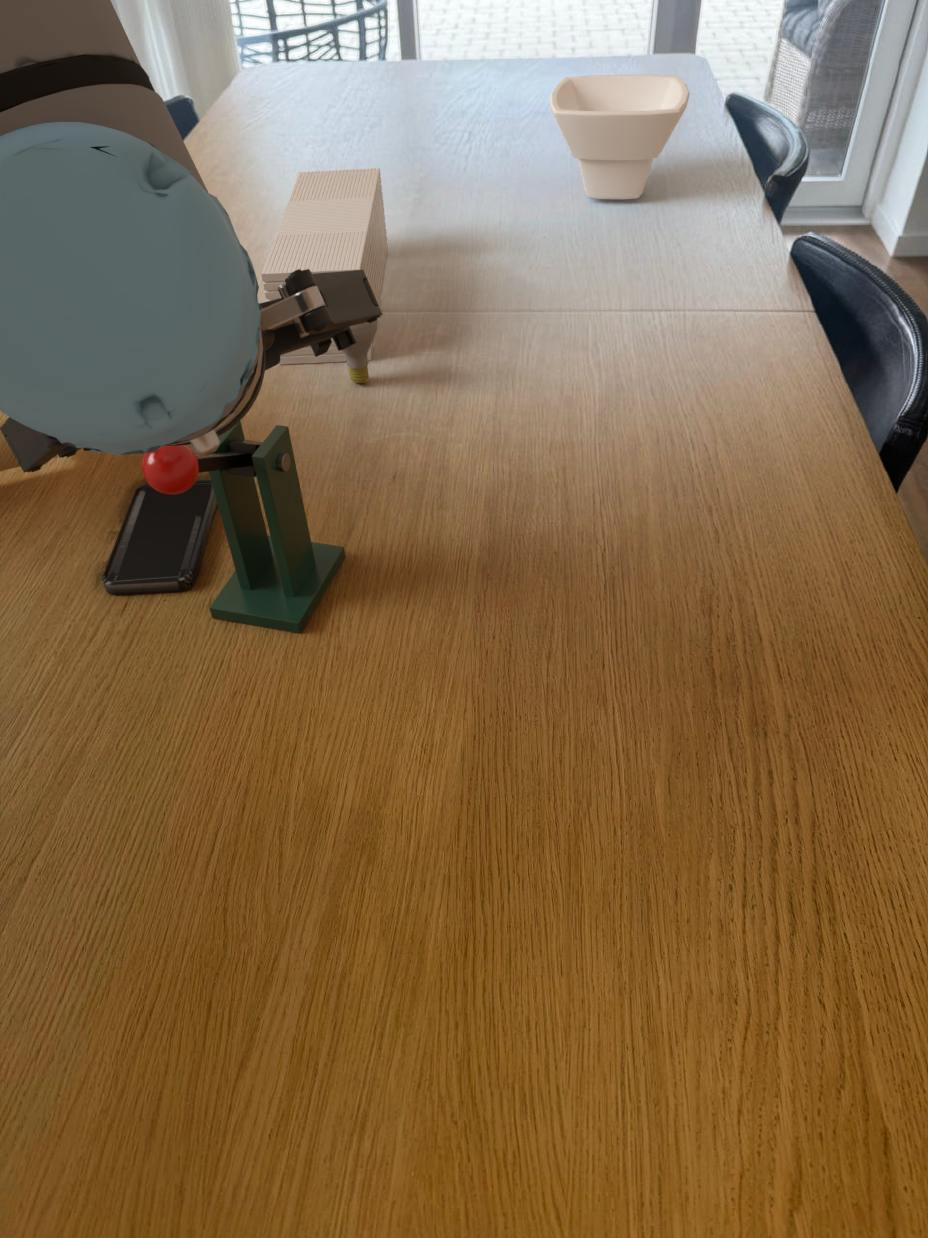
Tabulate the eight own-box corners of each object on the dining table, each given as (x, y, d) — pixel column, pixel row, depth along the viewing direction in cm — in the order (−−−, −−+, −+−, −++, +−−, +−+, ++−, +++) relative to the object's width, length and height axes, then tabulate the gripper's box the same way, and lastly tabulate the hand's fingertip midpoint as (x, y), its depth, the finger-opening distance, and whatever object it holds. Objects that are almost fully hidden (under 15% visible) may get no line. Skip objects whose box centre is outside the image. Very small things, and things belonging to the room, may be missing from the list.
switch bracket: (300, 633, 78) (266, 482, 68) (212, 618, 80) (165, 468, 70) (346, 557, 85) (320, 409, 75) (263, 544, 87) (227, 398, 77)
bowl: (679, 218, 137) (690, 111, 127) (543, 217, 140) (543, 113, 130) (679, 172, 150) (689, 73, 141) (554, 172, 153) (556, 74, 144)
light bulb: (354, 400, 104) (341, 313, 98) (326, 382, 108) (312, 296, 101) (394, 382, 107) (385, 296, 100) (366, 365, 110) (355, 280, 103)
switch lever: (179, 500, 62) (181, 443, 61) (130, 493, 62) (130, 437, 61) (279, 483, 75) (281, 436, 74) (237, 477, 76) (239, 431, 75)
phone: (98, 585, 82) (138, 482, 93) (102, 595, 83) (141, 492, 93) (191, 580, 82) (219, 478, 93) (194, 590, 82) (222, 488, 93)
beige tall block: (312, 252, 135) (299, 171, 127) (388, 248, 134) (379, 167, 127) (279, 364, 111) (261, 273, 104) (371, 360, 111) (359, 268, 103)
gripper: (-92, 571, 37) (42, 523, 57) (494, 311, 39) (422, 354, 60) (-203, 386, 35) (-23, 404, 56) (418, 124, 37) (371, 235, 58)
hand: (207, 378), depth 58 cm, fingers open, 13 cm apart
